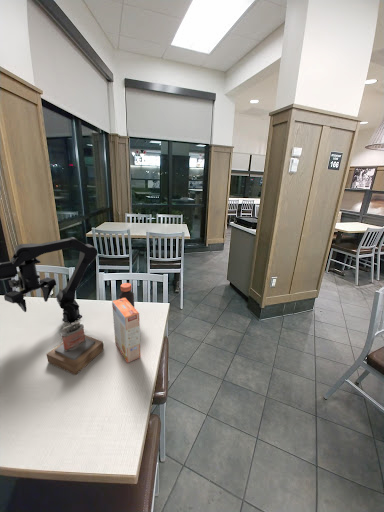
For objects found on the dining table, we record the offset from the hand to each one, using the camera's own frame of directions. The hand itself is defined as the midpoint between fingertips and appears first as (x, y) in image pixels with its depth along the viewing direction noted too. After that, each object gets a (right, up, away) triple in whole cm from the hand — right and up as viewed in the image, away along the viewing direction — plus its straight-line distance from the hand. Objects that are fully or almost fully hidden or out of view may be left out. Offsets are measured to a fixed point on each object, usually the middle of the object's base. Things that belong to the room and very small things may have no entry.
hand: (35, 306), depth 99 cm
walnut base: (+23, -17, -10) cm, 31 cm away
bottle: (+37, -10, +12) cm, 41 cm away
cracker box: (+42, -17, -6) cm, 46 cm away
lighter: (+24, -13, -12) cm, 29 cm away
